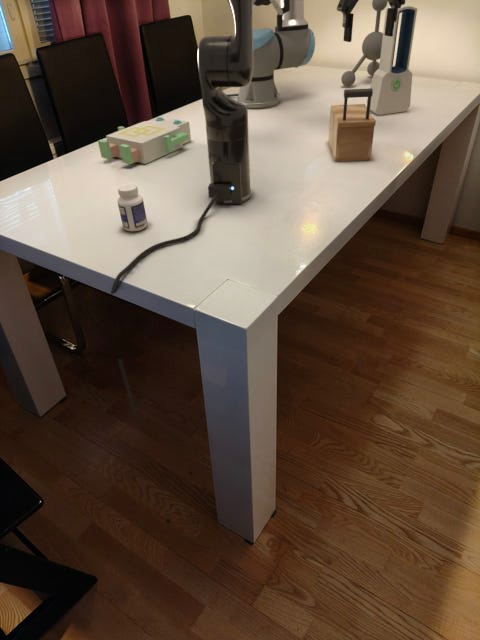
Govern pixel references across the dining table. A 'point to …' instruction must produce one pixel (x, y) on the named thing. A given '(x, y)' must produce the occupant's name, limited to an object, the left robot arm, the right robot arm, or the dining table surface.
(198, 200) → the dining table surface
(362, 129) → the chest
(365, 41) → the molecular model
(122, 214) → the pill bottle
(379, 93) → the electronic device
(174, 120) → the decorative block
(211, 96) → the left robot arm
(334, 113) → the lid
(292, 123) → the dining table surface
